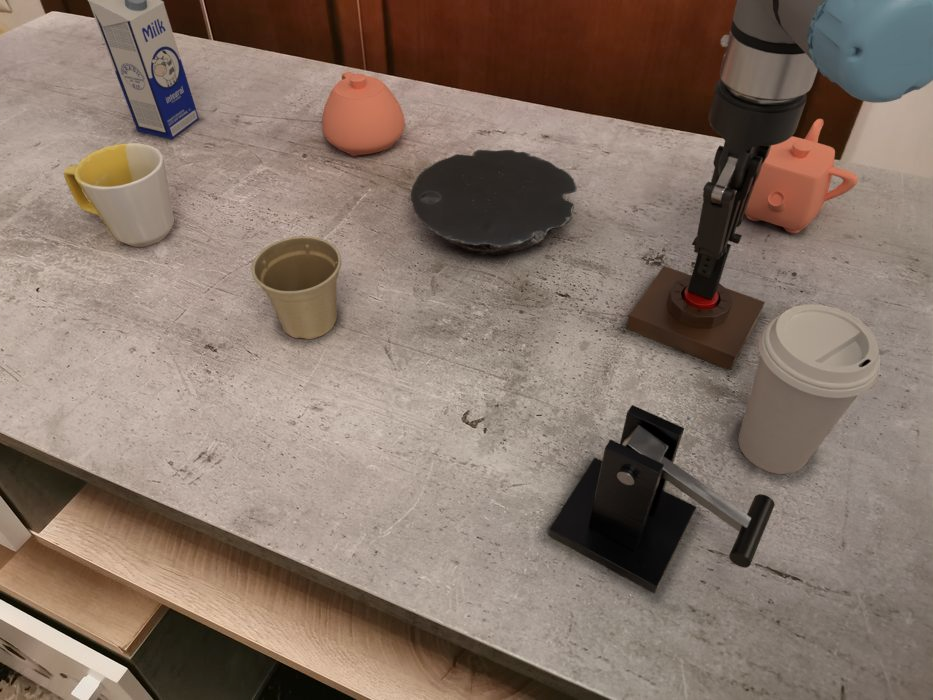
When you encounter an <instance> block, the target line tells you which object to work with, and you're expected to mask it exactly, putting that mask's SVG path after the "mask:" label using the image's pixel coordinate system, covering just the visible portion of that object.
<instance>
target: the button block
mask: <svg viewBox="0 0 933 700" xmlns="http://www.w3.org/2000/svg"><path fill="white" fill-rule="evenodd" d="M691 276H692V274H689V273H686V272H682V271H680V270H678V269H676V268H675V269H674V268H671V267H669V266H667V265H663V266H662V268H660V270H659V272H658V273H657V274H656V276H655V277H654V279H653V280H652V282H651V283H650V284H649V286H648V287H647V288H646V290H645V291H644V293H643V294H642V296H641V297H640V298H639V300H638V302H637V303H636V304H635V305H634V307H633V308H632V310H631V311H630V313H628V317H627V322H626V327H625V330H628V331H630V332H633V333H635V334H638V335H641V336H642V337H645V338H648V339H651V340H653V341H656V342H657V343H661V344H663V345H666V346H668V347H670V348H673V349H675V350H678V351H679V352H682V353H685V354H688V355H690V356H693V357H694V358H697V359H700V360H703V361H705V362H707V363H710V364H712V365H715V366H718V367H720V368H722V369H725V370H727V371H731V370H732V368H733V367H734V365H735V363H736V362H737V360H738V358H739V356H740V353H741V352H742V350H743V348H744V346H745V344H746V342H747V341H748V339H749V337H750V335H751V333H752V331H753V330H754V327H755V326H756V324H757V322H758V320H759V318H760V316H761V314H762V311H763V308H764V306H765V301H764V300H760V299H758V298H755V297H752V296H750V295H747V294H744V293H741V292H739V291H735V290H733V289H730V288H727V287H725V286H723V285H722V284H721V283H720V282H719V285H718V288H717V293H718V301H717V304H716V307H714V308H712V309H698V308H695V307H692V306H690V305H688V304H687V303H686V302H685V301H684V300H683V295H684V292H685V289H686V288H687V287H688V286H689V284H690V280H691Z"/></svg>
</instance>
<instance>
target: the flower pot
mask: <svg viewBox="0 0 933 700" xmlns="http://www.w3.org/2000/svg"><path fill="white" fill-rule="evenodd" d="M341 267H342V255H341V252H340V250H339V249H338V248H337V247H336V246H335V245H334V244H333V243H332V242H330V241H328V240H326V239H323V238H320V237H317V236H309V235H300V236H290V237H286V238H282V239H280V240H277V241H274V242H272V243H271V244H269V245H268V246H266V247H264V248H263V249H262V250H260V251H259V252H258V254H257V255H256V256H255V257H254V259H253V261H252V264H251V275H252V277H253V280H254V281H255V283H256V284H257V285H258V286H259V287H261V289H262V290H263V292H264V293H265V294H266V295H267V297H268V299H269V301H270V303H271V305H272V308H273V310H274V312H275V314H276V316H277V319H278V321H279V322H280V326H281V327H282V329H283V331H284V332H285V333H286V334H287V335H289V336H290V337H292V338H295V339H298V338H302V339H305V340H306V339H307V340H312V339H316V338H320V337H322V336H324V335H326V334H327V333H329V332H330V331H331V330H332V329H333V328H334V326H335V323H336V322H337V317H338V315H337V279H338V276H339V272H340V270H341Z"/></svg>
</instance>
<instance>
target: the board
mask: <svg viewBox="0 0 933 700" xmlns="http://www.w3.org/2000/svg"><path fill="white" fill-rule="evenodd" d="M577 191H578V186H577V184H576V180H575V178H574V177H573V176H572V175H571V173H569V172H568V171H565V170H564V169H563V168H559V167H558V166H556V165H555V164H554V163H552V162H551V161H550V160H546V159H543V158H541V157H539V156H536V155H530V153H528V152H525V151H515V150H514V149H501V150H491V149H476V150H475V151H473V153H472V155H471V154H462V153H461V154H460V153H455V154H453V155H451V156H449V157H444V158H443V159H441V160H438V161H435V162H434V163H432V164H430V166H428V167H426V168H425V169H424V170H423V171H421V172H420V173H418V176H417V177H416V179H415V181H414V183H413V185H412V187H411V190H410V201H411V204H412V209H413V211H414V213H415V215H416V216H417V219H418V220H419V222H421V223H422V224H423V225H424V226H425V227H426V228H427V229H428V230H430V231H431V232H433V233H434V234H436V235H437V236H439V237H441V238H442V239H444V240H446V241H447V242H449V243H451V244H452V245H455V246H456V247H458V248H459V249H460V250H463V251H464V252H466V253H470V254H471V253H472V254H478V255H491V256H501V255H503V254H504V255H505V254H506V253H511V252H517V251H523V250H526V249H529V248H531V247H534V245H538V244H539V243H540V242H542V241H544V239H545V237H546V236H547V233H548V232H549V231H551V230H556V229H561V228H563V227H564V226H566V225H567V224H568V223H570V222H571V221H572V220H573V218H574V214H573V212H574V209H575V203H573V202H571V201H569V200H567V199H566V198H565V197H564V196H565V195H568V194H569V195H570V194H572V193H573V194H574V193H576V192H577Z"/></svg>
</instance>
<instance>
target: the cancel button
mask: <svg viewBox="0 0 933 700" xmlns="http://www.w3.org/2000/svg"><path fill="white" fill-rule="evenodd" d="M688 287H689V286H688ZM688 287H687V288H686V289H685V292H684V295H683V300H684V301H685V302H686V303H687V304H688V305H690V306H692V307H695V308H698V309H712V308H714V307H716V304H717V301H718V293H717V291H716V293H715V295H714V297H713V298H712V300H710V299H707V298H704V297H702V296H699V295H696V294H694V293H691V292H688Z"/></svg>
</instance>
